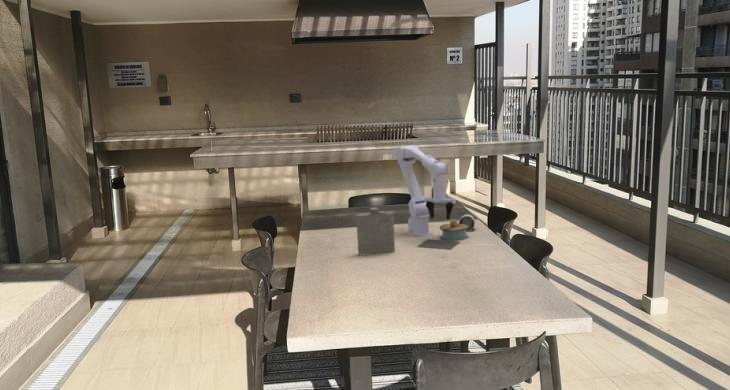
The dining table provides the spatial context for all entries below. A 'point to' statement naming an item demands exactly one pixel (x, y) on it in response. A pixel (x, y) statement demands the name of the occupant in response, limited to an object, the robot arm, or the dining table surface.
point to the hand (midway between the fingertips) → (440, 218)
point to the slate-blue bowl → (454, 235)
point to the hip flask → (375, 232)
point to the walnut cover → (453, 226)
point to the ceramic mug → (467, 221)
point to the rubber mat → (438, 244)
